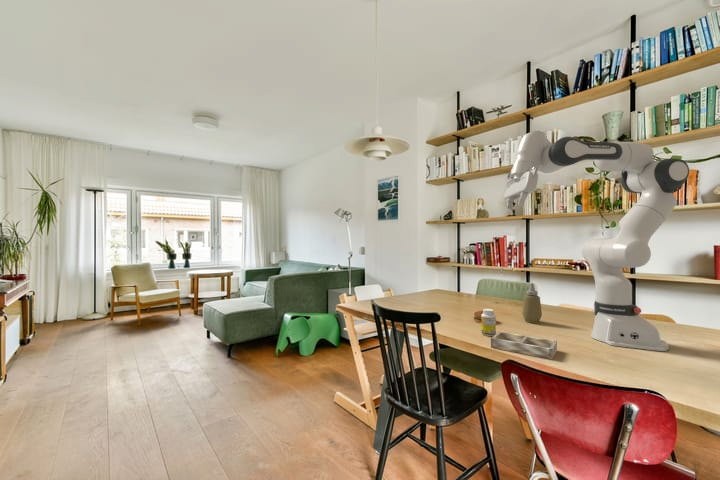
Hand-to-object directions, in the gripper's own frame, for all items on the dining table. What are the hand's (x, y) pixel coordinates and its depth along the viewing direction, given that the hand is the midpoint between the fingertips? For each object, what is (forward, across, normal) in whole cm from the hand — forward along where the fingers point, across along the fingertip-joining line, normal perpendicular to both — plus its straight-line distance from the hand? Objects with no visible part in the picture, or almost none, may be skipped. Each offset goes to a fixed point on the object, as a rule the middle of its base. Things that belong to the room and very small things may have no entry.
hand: (514, 207), depth 123 cm
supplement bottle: (+51, +11, -8) cm, 53 cm away
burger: (+48, +32, -12) cm, 59 cm away
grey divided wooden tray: (+50, -6, -14) cm, 52 cm away
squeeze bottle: (+42, +31, -33) cm, 62 cm away
